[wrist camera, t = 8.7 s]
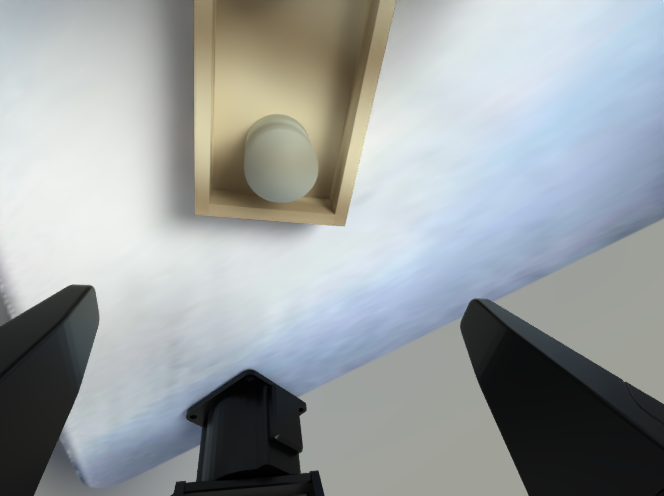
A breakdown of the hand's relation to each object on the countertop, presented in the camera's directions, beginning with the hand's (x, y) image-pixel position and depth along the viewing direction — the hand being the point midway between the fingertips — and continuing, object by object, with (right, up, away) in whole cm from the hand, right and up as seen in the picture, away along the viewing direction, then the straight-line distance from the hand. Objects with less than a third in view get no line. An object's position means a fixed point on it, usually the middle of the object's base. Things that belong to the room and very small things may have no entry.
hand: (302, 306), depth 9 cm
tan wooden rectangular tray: (-1, +10, +7) cm, 12 cm away
